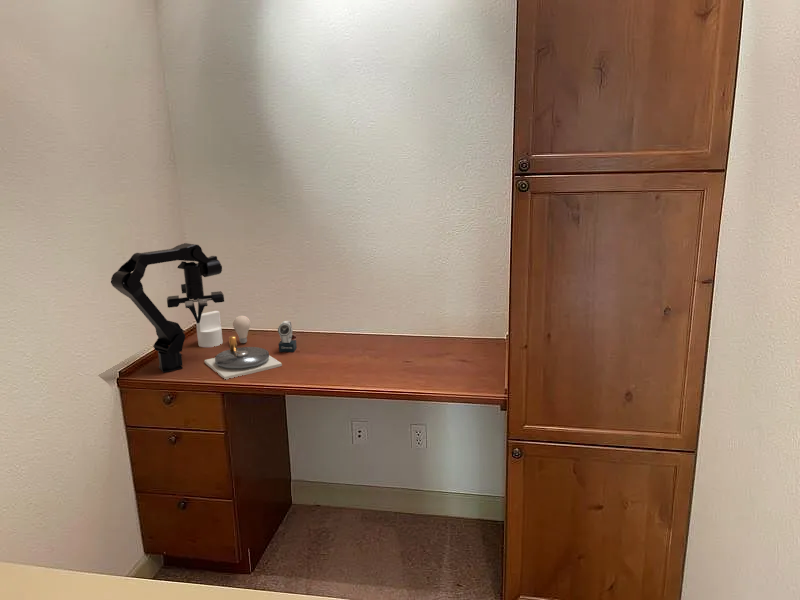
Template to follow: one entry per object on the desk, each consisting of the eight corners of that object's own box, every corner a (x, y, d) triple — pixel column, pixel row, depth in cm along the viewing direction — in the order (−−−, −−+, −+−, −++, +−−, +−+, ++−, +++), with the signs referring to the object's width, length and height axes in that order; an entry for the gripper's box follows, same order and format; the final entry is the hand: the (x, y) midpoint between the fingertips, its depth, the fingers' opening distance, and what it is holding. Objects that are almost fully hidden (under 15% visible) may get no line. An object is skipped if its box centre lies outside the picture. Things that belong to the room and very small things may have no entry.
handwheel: (278, 360, 207) (276, 342, 205) (228, 373, 196) (226, 354, 195) (255, 347, 221) (253, 330, 219) (207, 358, 210) (205, 340, 208)
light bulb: (254, 340, 234) (252, 313, 231) (248, 346, 228) (246, 318, 225) (238, 340, 235) (235, 313, 232) (232, 346, 228) (229, 318, 226)
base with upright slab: (204, 348, 226) (201, 318, 223) (194, 343, 232) (191, 313, 229) (226, 343, 232) (224, 313, 229) (216, 338, 238) (213, 309, 235)
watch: (277, 353, 219) (275, 324, 216) (283, 346, 227) (281, 318, 224) (292, 353, 219) (291, 324, 216) (298, 346, 226) (296, 318, 224)
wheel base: (225, 379, 195) (224, 375, 195) (204, 362, 211) (204, 358, 211) (281, 366, 207) (281, 361, 206) (258, 350, 222) (258, 347, 222)
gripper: (219, 272, 220) (223, 314, 224) (164, 277, 213) (169, 320, 217) (222, 278, 210) (226, 322, 214) (164, 284, 203) (170, 328, 207)
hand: (198, 322), depth 213 cm, fingers closed
